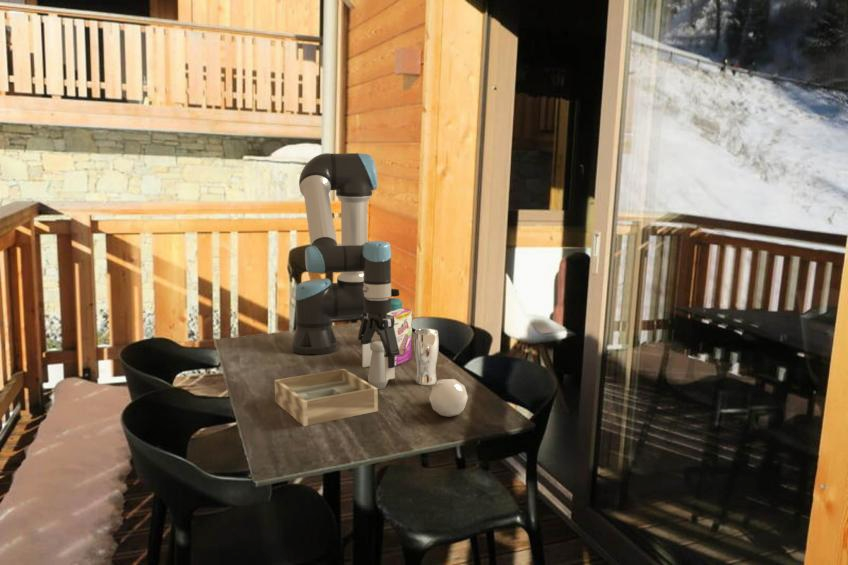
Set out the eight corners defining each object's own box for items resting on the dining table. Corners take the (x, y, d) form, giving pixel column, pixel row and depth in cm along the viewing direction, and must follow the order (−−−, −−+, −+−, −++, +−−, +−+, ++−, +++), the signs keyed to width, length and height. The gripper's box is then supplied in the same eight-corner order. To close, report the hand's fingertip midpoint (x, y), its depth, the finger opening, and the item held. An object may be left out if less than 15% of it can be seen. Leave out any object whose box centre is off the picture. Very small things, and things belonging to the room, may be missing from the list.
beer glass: (426, 376, 209) (426, 327, 206) (443, 381, 204) (443, 331, 201) (409, 381, 204) (409, 331, 201) (426, 387, 199) (426, 335, 197)
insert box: (275, 401, 187) (274, 380, 186) (344, 389, 197) (344, 368, 196) (303, 426, 170) (303, 402, 169) (377, 411, 181) (377, 388, 179)
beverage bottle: (385, 344, 245) (384, 287, 241) (404, 344, 244) (404, 287, 240) (381, 349, 238) (381, 290, 235) (401, 350, 238) (400, 291, 234)
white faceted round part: (445, 428, 173) (440, 414, 188) (477, 405, 173) (470, 392, 188) (422, 398, 172) (420, 386, 187) (455, 374, 172) (450, 364, 187)
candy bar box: (394, 368, 217) (393, 316, 214) (380, 366, 219) (379, 314, 216) (412, 359, 226) (412, 309, 223) (399, 357, 229) (399, 307, 226)
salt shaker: (385, 391, 196) (385, 345, 194) (365, 389, 197) (364, 344, 195) (390, 384, 202) (390, 340, 199) (371, 383, 203) (370, 338, 201)
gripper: (345, 291, 204) (346, 363, 207) (386, 307, 183) (387, 386, 186) (369, 289, 207) (369, 359, 211) (412, 304, 186) (412, 382, 190)
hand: (378, 372), depth 199 cm, fingers open, 13 cm apart
